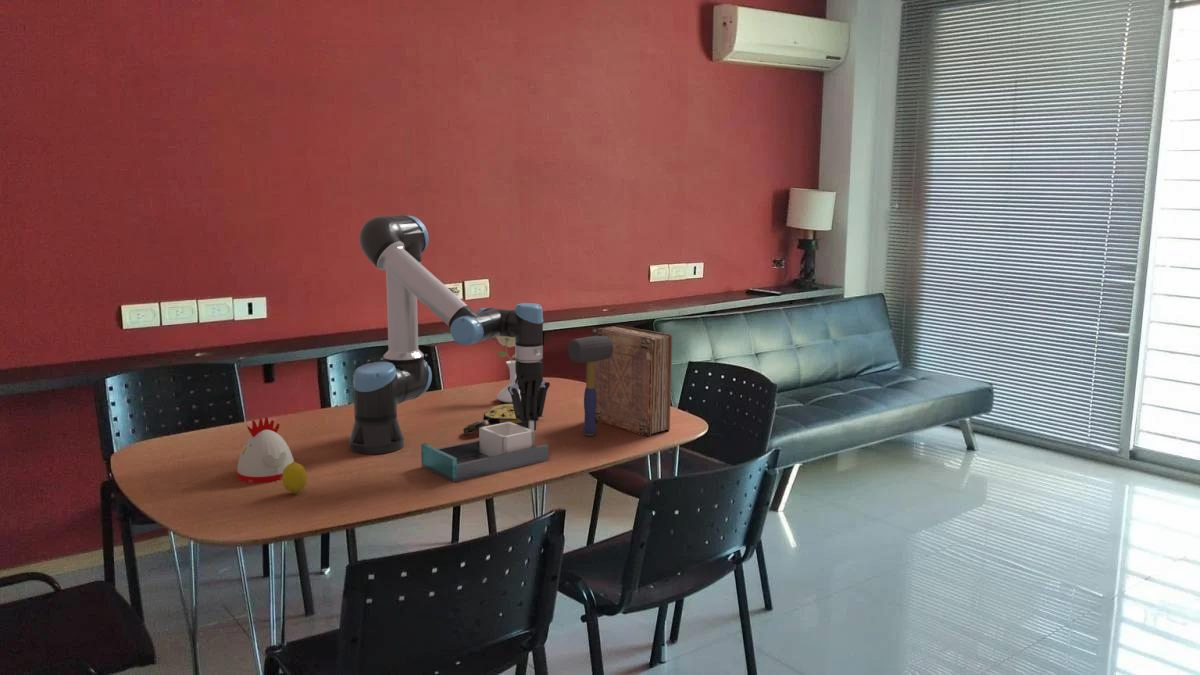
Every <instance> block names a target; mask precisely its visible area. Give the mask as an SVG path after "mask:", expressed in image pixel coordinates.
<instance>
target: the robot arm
mask: <svg viewBox="0 0 1200 675" xmlns="http://www.w3.org/2000/svg"><path fill="white" fill-rule="evenodd" d="M358 240H359V247H360V248H361V249H360V250H361V251H362V252H363V254H364V256H366V258H367V259H368V260H369V261H370V262H371V263H372V264H373V265H374V266H375V267H376V268H377V269H378V270H380V271H385V276H386V277H385V278H386V279H385V280H386V282H385V283H386V308H387V310H386V312H387V340H388V346H387V347H388V349H387V351H386V352H385V353H384V354H383V361H374V362H370V363H365V364H362V365H360V366H358V367H357V368H356V369H355V370H354V372H353V381H352V387H353V407H354V408H353V409H354V422H353V423H354V424H353V426H352V429H351V432H350V437H349V439H348V445H349V446H348V447H349V448H348V449H349V450H351V452H354V453H357V454H365V455H366V454H367V455H377V454H387V453H392V452H396V451H398V450H401V449H403V447H404V446H405V436H404V434H403V431H402V429H401V425H400V423H399V421H398V405H399V404H401V403H405V402H407V401H410V400H414V399H417V398H419V397H420V396H422V395H423V394H425V393H426V392H427V391H428V389H429V388H430V386H431V383H432V378H433V375H432V374H433V373H432V368H431V367H430V365H429V364H428V362H427V361H426V360H425V356H424V354H425V353H423V352H422V351H421V350H420V349H419V324H418V319H419V318H418V300H419V302H421V303H422V304H423V305H425V306H426V308H428V309H429V310H430V311H432V313H434V314H435V315H436V316H437V317H438V318H439V319H440V320H441V321H442V322H444V323H445V324H446V325H447V326H448V327H449V328H450V335H451V337H452V339H453V340H454V342H455V343H457V344H459V345H462V346H468V345H475V344H477V343H480V342H482V341H483V342H484V341H486V340H490V339H493V338H496V337H497V336H504V337H515V346H514V348H515V349H514V350H515V351H514V352H515V353H514V355H515V357H514V358H515V361H516V362H515V372H516V376H517V377H516V380H515V384H514V385H513V386H512V387H508V391H509V393H510V394H511V398H512V402H513V407H514V412H515V416H516V418H517V419H519V420H522V427H525V428H528V429H530V430H533V431H535V432H536V430H537V421H539V420H540V418H542V417H541V416H543V412H544V408H545V403H546V398H547V392H548V389H549V388H550V385H551V383H550V382H548V381H545V380H544V377H543V372H544V369H543V368H544V363H543V362H544V361H543V360H542V359H543V358H544V357H543V356H544V355H543V353H544V345H543V344H544V343H543V342H544V340H543V339H544V338H543V335H544V334H543V332H544V331H543V330H544V316H543V315H544V312H543V307H542V305H541V304H539V303H536V302H535V303H533V302H530V303H529V302H522V303H517V304H516V305H515V308H514V309H506V308H505V309H504V308H494V307H491V306H490V307H481V308H479V309H478V310H477V311H475V310H473V309H472V308H471V307H470V306H469V305H468V304H466V302H464V301H463V300H462V299H461V298H460V297H459V296H458V295H457V294H456V293H454V292H453V291H452V290H451V289H450V288H448V287H447V286H446V285H445V284H444V283H443V282H442V281H440V280H439V278H438V277H436V276H435V275H434V274H433V273H432V272H430V270H429V269H427V268H426V267H425V266H424V265H422V254H423V252H425V250H426V249H427V247H428V245H429V240H430V239H429V232H428V229H427V228H426V225H425V224H424V223H423V222H422V221H421V220H420V219H419V218H417V217H416V216H413V215H405V214H397V215H386V216H385V215H384V216H383V215H382V216H375V217H372V218H370V219H369V220H367V221H365V223H364V224H363V225H362V227H361V229H360V230H359V236H358ZM518 388H519V390H520V395H519V393H518V392H519V390H518ZM520 396H521V400H520ZM538 417H540V418H538Z"/></svg>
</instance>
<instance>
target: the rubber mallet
mask: <svg viewBox="0 0 1200 675" xmlns="http://www.w3.org/2000/svg"><path fill="white" fill-rule="evenodd" d="M567 353H568V357H569V359H570V360H571V361H572V362H573V363H586V371H585V372H586V374H585V375H586V377H585V378H586V379H585V381H586V382H585V384H586V385H585V389H584V395H583V409H584V424H583V427H582V431H583V433H584V435H585V436H586V437H587V436H588V437H591V436H595V434H596V432H597V423H596V421H595V412H596V390H595V361H599V360H604V359H608V358H610V357H611V356H612V353H613V344H612V341H611V339H610V338H609V337H607V336H593V337H592V336H586V337H579V338H574V339H572V340H571V341H570V342H568V348H567Z"/></svg>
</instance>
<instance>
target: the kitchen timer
mask: <svg viewBox="0 0 1200 675" xmlns="http://www.w3.org/2000/svg"><path fill="white" fill-rule="evenodd" d="M274 422H275V421H274V419H271V421H270V423H269V418H268V417H267V416H265V417H264V423H263V418H261V417H260V418H259V420H258V425H257V423H256V421H255V420H254V419H252V422H251V424H252V426H248V425H247V426H246V428H247V430H248V432H249V434H250V437H249V438H248V439H247V440H246V442H245V444H244V445H243V448H242V449H241V451H240V454H239V458H238V461H237V470H236V473H237V479H238V480H239V479H240V481H241V482H244V481H245V483H249V482H254V483H253V484H256V483H255V482H267V483H273V482H272V481H274V482H278V481H277V480H279V481H282V480H281V479H282V476H283V471H284V469H285V468H286V466H288V465H289V464H291V463H292V462H295V461H294V460H295V459H294V457H293V454H292V450H291V448H290V447H289V445H288V443H287V442H286V441H285V439H284V438H283V436H281V435H280V434H278V431H279V428H280V423H276V425H275V424H274ZM274 425H275V427H274ZM251 427H252V428H251Z"/></svg>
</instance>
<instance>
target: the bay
mask: <svg viewBox="0 0 1200 675" xmlns="http://www.w3.org/2000/svg"><path fill="white" fill-rule="evenodd" d="M420 446H421V447H420V449H421V450H420V453H421V454H420V455H421V457H420V458H421V460H420V461H421V468H423V469H425V470H427V471H429V472H430V473H433V474H434V475H437V476H439V477H441V478H443V479H445V480H447V481H449V482H450V483H453V482H454V483H458V482H462V481H466V480H471V479H475V478H478V477H484V476H487V474H488V475H491V473H492V474H496V473H499V471H500V472H504V470H505V471H508V470H513V469H517V468H520V467H521V468H522V467H525V465H526V466H529V465H533V464H538V463H542V462H545V461H549V444H545V443H544V444H541V445H537V446H536V445H535V447H531V448H527V449H522V450H518V451H513V452H509V453H504V454H500V455H495V456H491V457H489V456H487V455H485V454H482V453H480V450H479V439H477V440H471V441H470V440H469V441H466V442H461V443H456V444H452V445H447V446H446V445H445V446H442V447H437V448H435V447H434V446H433V445H429V444H427V443H422V444H420ZM457 481H458V482H457Z"/></svg>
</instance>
